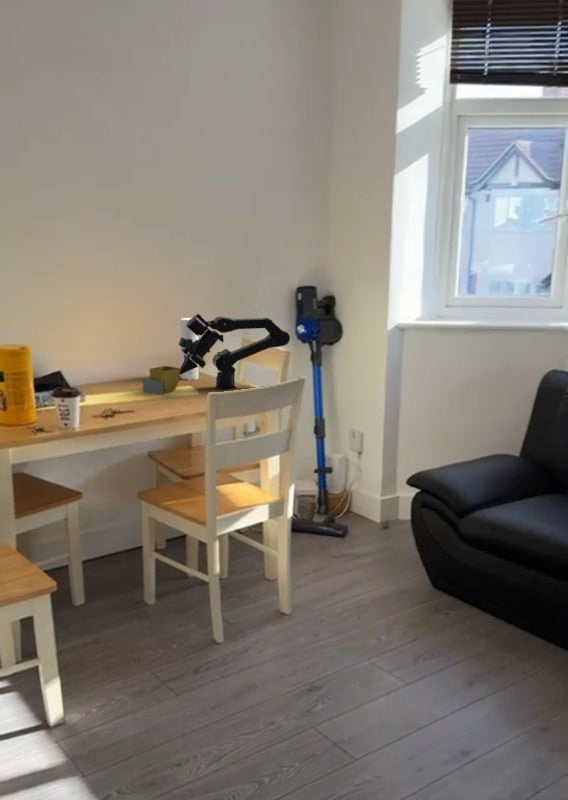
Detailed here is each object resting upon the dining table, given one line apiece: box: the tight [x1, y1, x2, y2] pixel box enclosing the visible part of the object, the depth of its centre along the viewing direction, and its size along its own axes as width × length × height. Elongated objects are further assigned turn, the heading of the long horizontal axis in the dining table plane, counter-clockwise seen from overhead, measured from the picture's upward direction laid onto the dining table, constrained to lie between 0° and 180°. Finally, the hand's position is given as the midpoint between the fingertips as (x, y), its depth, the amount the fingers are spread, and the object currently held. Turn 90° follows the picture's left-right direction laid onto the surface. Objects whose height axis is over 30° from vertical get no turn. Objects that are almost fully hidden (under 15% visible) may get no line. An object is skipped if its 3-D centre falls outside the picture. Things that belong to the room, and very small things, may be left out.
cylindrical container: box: [180, 317, 199, 381], centre depth 323 cm, size 7×7×25 cm
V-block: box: [142, 376, 164, 395], centre depth 299 cm, size 7×12×5 cm, turn 18°
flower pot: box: [149, 365, 181, 393], centre depth 300 cm, size 9×9×9 cm
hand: (179, 373), depth 301 cm, fingers closed
